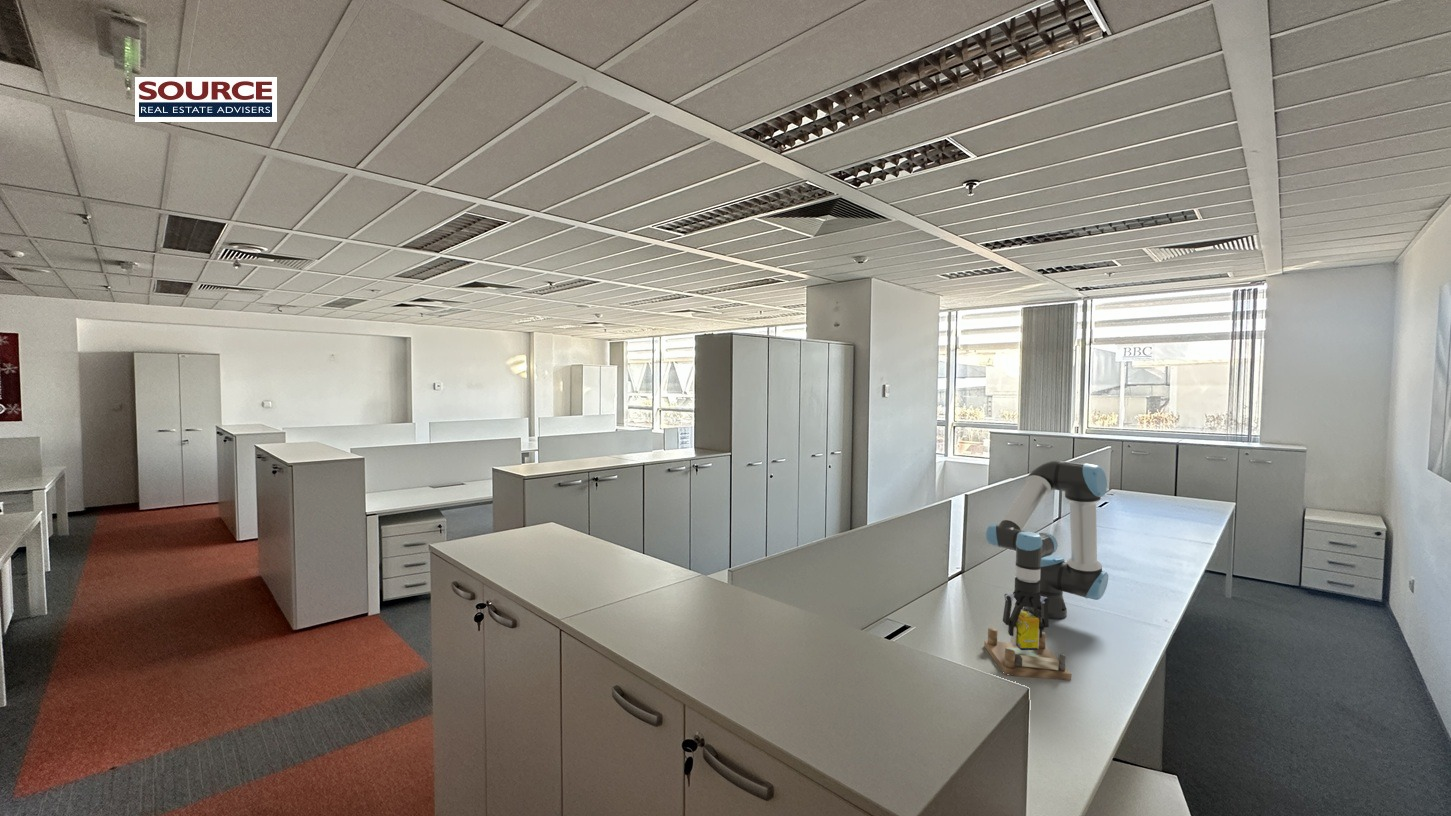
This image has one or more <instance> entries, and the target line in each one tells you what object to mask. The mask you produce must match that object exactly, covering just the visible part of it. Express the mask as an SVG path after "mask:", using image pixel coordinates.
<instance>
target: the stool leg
mask: <svg viewBox="0 0 1451 816" xmlns="http://www.w3.org/2000/svg"><path fill="white" fill-rule="evenodd" d="M1058 663H1059V662H1058V661H1057V660H1056V659H1054V658H1044V657H1035V656H1025V655H1017V654H1015V666H1025V667H1034V668H1044V669H1053V670H1058Z"/></svg>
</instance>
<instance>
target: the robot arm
mask: <svg viewBox="0 0 1451 816" xmlns="http://www.w3.org/2000/svg"><path fill="white" fill-rule="evenodd" d="M1107 481H1108V480H1107V476H1106V473H1105V471H1104V469H1103V468H1102V467H1101V466H1100V465H1097V464H1091V463H1087V462H1086V463H1083V462H1076V461H1065V460H1051V461H1048V462H1045V463H1042V464H1041V465H1039V466H1037V467H1036V468H1035V469H1033V470H1032V471H1031V472H1030V473H1029V474H1028V475H1027V476H1026V477H1025V480H1024V482H1025V483H1024V484H1025V485H1024V487H1022V489H1021V491H1020V492H1019V494H1018V496H1017V497H1016V498H1015V500H1014V501H1013V503H1012V504H1011V506H1010V507H1009V509H1008V510H1007V512H1006V514H1005V515H1004V516H1003V518H1002V519H1001V520H1000V522H999V524H989V525H988V527H987V528H986V533H985V538H986V541H987V543H988V544H989V545H992V546H994V547H998V548H1003V549H1008V550H1012V551H1015V552H1016V553H1015V568H1014V569H1015V572H1014V576H1015V577H1014V591H1013V592H1012V593H1009V594H1008V593H1004V595H1003V596H1004V600H1005V602H1004V607H1003V608H1004V609H1003V617H1002V622H1003V623H1004V624H1005V625H1006V626H1008V627H1007V628H1008V629H1007V631H1008V632H1007V633H1008V635H1009V636H1010V643H1011V644H1012V645H1013V647H1016V634H1017V628H1016V627H1015V624H1016V621H1017V619H1018V617H1019V614H1020V612H1021V611H1023V609H1025V611H1029V612H1030V613H1031V614H1033V615H1034V616H1035V617H1037V618H1039V632H1038V649H1039V638H1042V632H1043V631H1044V630H1045V629H1046V628H1049V627H1050V625H1049V621H1050V620H1049V619H1064V618H1066V617H1067V615H1068V609H1067V606H1066V602H1065V599H1064V596H1063V595H1064V593H1068V594H1072V595H1075V596H1079V597H1083V598H1085V599H1090V600H1094V601H1098V600H1100V599H1102V597H1104V594H1105V592H1106V589H1107V586H1108V582H1109V573H1108V572H1107V571H1105V570H1103V564H1102V563H1101V562H1100V561H1099V560H1098V547H1097V546H1098V545H1097V544H1098V543H1097V542H1098V539H1097V538H1098V537H1097V535H1098V534H1097V503H1098V502H1100V501H1101V499H1102V497H1104V496H1105V495H1106V493H1107V487H1108V483H1107ZM1052 491H1059V492H1064V498H1065V499H1066V500H1067V501H1068V502H1069V517H1070V520H1069V521H1070V524H1069V525H1070V558H1068V560H1067V561H1066V560H1065V558H1064V557H1063V556H1061V555H1058V554H1057V555H1056V554H1054V553H1055V552H1056V551H1057V549H1058V547H1059V545H1058V540H1057V539H1056V537H1055V536H1053V534H1051V533H1048V532H1040V533H1036V532H1034V531H1027V530H1024V529H1025V527H1026V526H1027V524H1028V523H1029V520H1031V518H1032V517H1033V515H1034V513H1035V512H1036V510H1037V509H1038V507H1039V505H1040V503H1041V502H1042V501H1043V499H1044V498H1045V496H1048V495H1049V494H1050V493H1051V492H1052ZM1063 592H1064V593H1063ZM1014 600H1015V603H1014V607H1013V606H1012V604H1013V601H1014ZM1012 607H1013V609H1012Z"/></svg>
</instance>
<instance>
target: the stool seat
mask: <svg viewBox="0 0 1451 816" xmlns="http://www.w3.org/2000/svg"><path fill="white" fill-rule="evenodd" d="M998 633H999V632H998V629H996V628H994V627H989V628H987V640H984V644H983V645H984V649H986V651H987V653H989V655H990V656H991V658H992V659H993V661H994V662H995V663H996V665H997V666H998V667H999V669H1000V670H1001V672H1002V671H1003V672H1004V673H1003V672H1002V673H1003V674H1004V675H1005V676H1007V675H1006V674H1009V675H1008V676H1012V675H1014V676H1016V677H1027V678H1028V677H1029V678H1040V679H1041V678H1042V679H1055V680H1066V681H1067V680H1068V681H1072V673H1071V672H1070V670H1069V669H1067V667H1066V659H1067V657H1066V654H1064V653H1059V654H1058V658H1057V657H1056V656H1055V655H1054V654H1053V653H1052V651H1050V650H1049V648H1048V647H1047V646H1046V638H1047V637H1046V636H1047V633H1046V632H1045V631H1042V638H1039V649H1038V650H1020V649H1019V648H1018V647H1017V646H1016V647H1013V645H1012V644H1011V641H1010V642H1008V641H998ZM1015 654H1017V655H1025V656H1035V657H1044V658H1054V659H1056V660H1057V661H1058V662H1059V663H1058V670H1053V669H1044V668H1034V667H1025V666H1015Z"/></svg>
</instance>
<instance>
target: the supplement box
mask: <svg viewBox="0 0 1451 816" xmlns="http://www.w3.org/2000/svg"><path fill="white" fill-rule="evenodd" d="M1015 627H1016V628H1017V634H1016V646H1017V647H1018V648H1019V649H1020V650H1038V632H1039V618H1037V617H1035V616H1034V615H1033V613H1031V612H1029V611H1027V610H1025V611H1023V610H1021V612H1020V614H1019V617H1018V619H1017V621H1016V624H1015Z"/></svg>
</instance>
